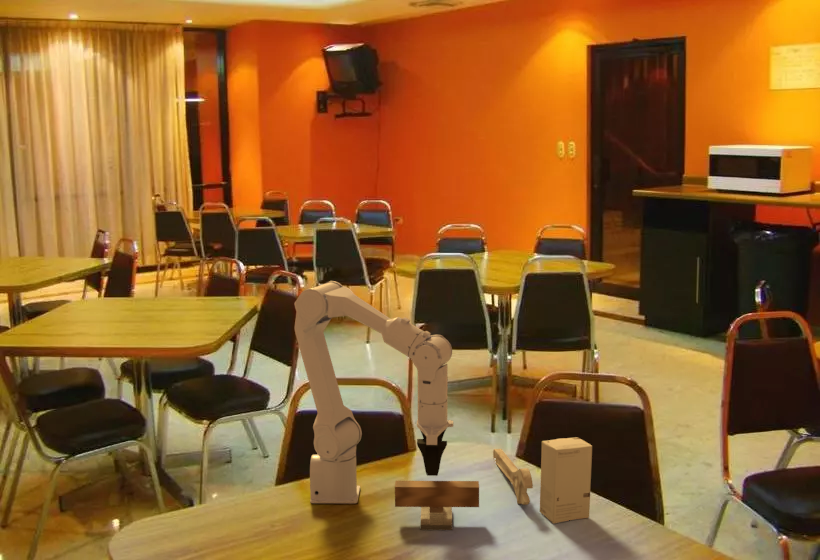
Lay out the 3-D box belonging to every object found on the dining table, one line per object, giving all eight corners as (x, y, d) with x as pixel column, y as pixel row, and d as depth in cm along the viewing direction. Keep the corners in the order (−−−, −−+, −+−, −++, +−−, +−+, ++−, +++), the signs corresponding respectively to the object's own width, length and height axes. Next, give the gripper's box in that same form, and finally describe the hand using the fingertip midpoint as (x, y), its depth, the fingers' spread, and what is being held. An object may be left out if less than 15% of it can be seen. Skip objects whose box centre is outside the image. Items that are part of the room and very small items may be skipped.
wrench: (500, 471, 204) (533, 514, 175) (492, 471, 204) (524, 514, 174) (500, 436, 204) (533, 473, 174) (492, 437, 204) (523, 474, 174)
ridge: (420, 530, 169) (420, 512, 169) (421, 511, 177) (421, 494, 177) (452, 530, 169) (452, 512, 169) (451, 511, 177) (451, 495, 176)
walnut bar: (395, 506, 171) (394, 487, 171) (395, 500, 174) (395, 480, 174) (479, 507, 171) (479, 487, 170) (478, 500, 174) (478, 481, 173)
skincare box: (553, 524, 171) (554, 450, 168) (538, 511, 177) (539, 440, 174) (591, 517, 174) (593, 444, 171) (575, 505, 180) (577, 434, 177)
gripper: (453, 412, 164) (453, 482, 167) (453, 388, 179) (453, 453, 181) (415, 412, 165) (415, 481, 167) (417, 388, 179) (418, 452, 181)
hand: (432, 467), depth 174 cm, fingers open, 7 cm apart
